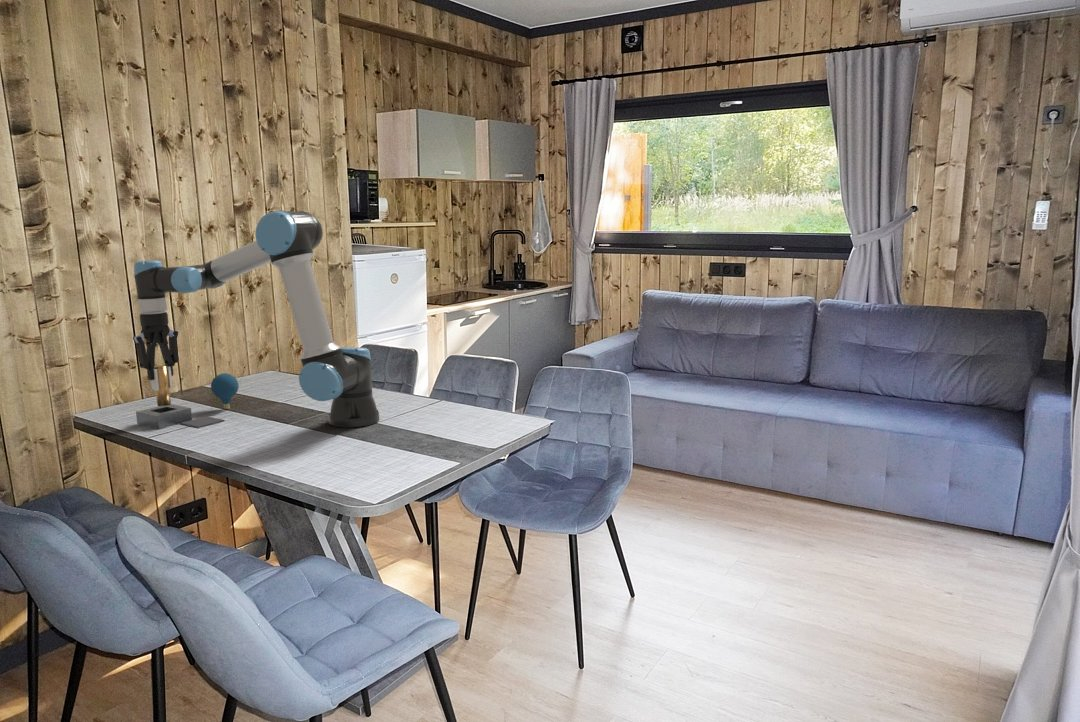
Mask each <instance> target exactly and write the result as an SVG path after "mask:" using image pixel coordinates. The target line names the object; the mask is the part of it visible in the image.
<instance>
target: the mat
mask: <svg viewBox="0 0 1080 722" xmlns="http://www.w3.org/2000/svg"><path fill="white" fill-rule="evenodd" d="M223 422H225V419H223V418H218V417H212V416H207V415H206V416H201V417H197V418H192V420H189V421H185V422H182V423H180V424H179V425H183V426H187V427H192V428H195V429H196V428H197V429H200V428H204V427H207V426H211V425H215V424H219V423H223Z"/></svg>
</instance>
